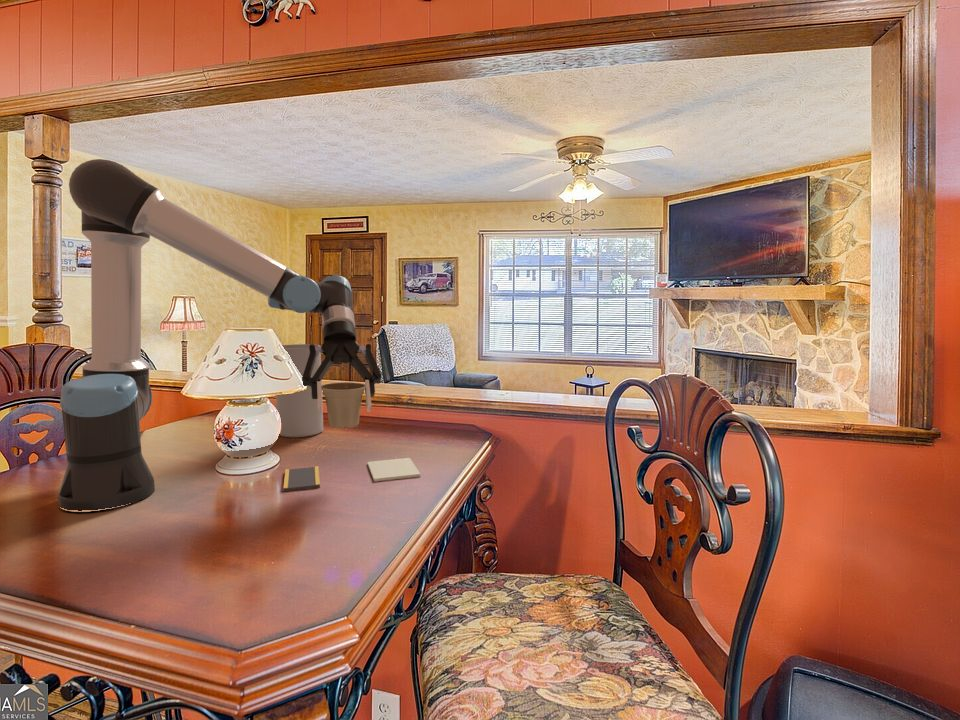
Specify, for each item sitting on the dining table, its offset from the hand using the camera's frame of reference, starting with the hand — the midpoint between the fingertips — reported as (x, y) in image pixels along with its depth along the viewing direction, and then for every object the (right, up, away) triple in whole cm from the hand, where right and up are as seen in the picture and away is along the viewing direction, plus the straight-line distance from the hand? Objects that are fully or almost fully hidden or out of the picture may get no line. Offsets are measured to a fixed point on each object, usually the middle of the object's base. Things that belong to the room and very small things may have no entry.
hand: (344, 409), depth 109 cm
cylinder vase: (-23, -11, +40) cm, 48 cm away
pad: (+9, -15, +8) cm, 19 cm away
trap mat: (-10, -15, +2) cm, 18 cm away
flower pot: (-1, -4, +3) cm, 5 cm away
